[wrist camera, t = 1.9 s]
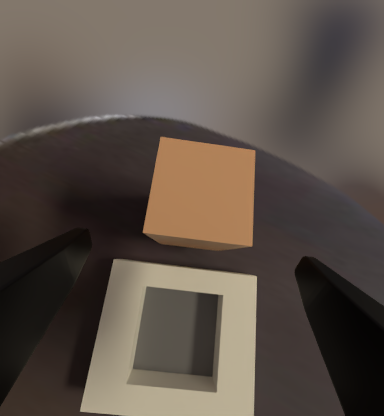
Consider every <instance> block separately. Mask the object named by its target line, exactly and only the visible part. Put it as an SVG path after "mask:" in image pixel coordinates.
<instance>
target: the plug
mask: <svg viewBox="0 0 384 416" xmlns="http://www.w3.org/2000/svg"><path fill="white" fill-rule="evenodd" d="M254 173H255V150H248V149H242V148H235V147H228V146H221V145H214V144H207V143H200V142H193V141H186V140H179V139H172V138H165V137H161V138H160V144H159V149H158V154H157V160H156V165H155V170H154V175H153V181H152V186H151V191H150V197H149V202H148V207H147V213H146V218H145V223H144V229H143V233H144V234H146V235H147V236H149V237H150V238H152V239H153V240H155V241H157V242H158V243H160V244H166V245H174V246H182V247H190V248H198V249H206V250H214V251H221V250H229V249H236V248H244V247H252V240H253V206H254Z"/></svg>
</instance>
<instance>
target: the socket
mask: <svg viewBox="0 0 384 416" xmlns="http://www.w3.org/2000/svg"><path fill="white" fill-rule="evenodd" d="M256 290H257V276H254V275H250V274H244V273H235V272H227V271H219V270H210V269H202V268H193V267H185V266H177V265H168V264H160V263H152V262H143V261H135V260H127V259H114V260H113V265H112V269H111V274H110V278H109V283H108V287H107V292H106V296H105V301H104V305H103V310H102V314H101V319H100V323H99V328H98V332H97V337H96V341H95V346H94V350H93V355H92V360H91V364H90V369H89V373H88V378H87V382H86V387H85V391H84V396H83V400H82V405H81V409H80V411H81V412H92V413H103V414H114V415H125V416H254V379H255V335H256Z"/></svg>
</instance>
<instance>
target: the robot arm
mask: <svg viewBox="0 0 384 416" xmlns="http://www.w3.org/2000/svg"><path fill="white" fill-rule="evenodd" d="M91 248H92V242H91V237H90V232H89V230H88V229H85V228H75V229H73V230H71V231H69V232H66V233H64V234H62V235H60V236H58V237H55V238H53V239H51V240H49V241H47V242H45V243H42V244H40V245H38V246H36V247H34V248H31V249H29V250H27V251H25V252H23V253H20V254H18V255H16V256H14V257H12V258H9V259H7V260H5V261H3V262H1V263H0V406H1V404H2V403H3V401H4V399H5V398H6V396H7V395H8V393H9V391H10V390H11V388H12V386H13V385H14V383H15V381H16V380H17V378H18V376H19V375H20V373H21V372H22V370H23V368H24V367H25V365H26V363H27V362H28V360H29V358H30V357H31V355H32V353H33V352H34V350H35V348H36V347H37V345H38V344H39V342H40V340H41V339H42V337H43V335H44V334H45V332H46V330H47V329H48V327H49V325H50V324H51V322H52V320H53V319H54V317H55V316H56V314H57V312H58V311H59V309H60V307H61V306H62V304H63V302H64V301H65V299H66V297H67V296H68V294H69V293H70V291H71V289H72V287H73V286H74V284H75V282H76V280H77V278H78V276H79V274H80V272H81V270H82V268H83V265H84V263H85V261H86V259H87V257H88V255H89V253H90V251H91ZM295 277H296V281H297V284H298V288H299V292H300V295H301V299H302V302H303V306H304V309H305V312H306V315H307V318H308V320H309V323H310V325H311V328H312V331H313V333H314V336H315V338H316V341H317V344H318V346H319V349H320V351H321V354H322V357H323V359H324V362H325V364H326V367H327V370H328V372H329V375H330V377H331V380H332V383H333V385H334V388H335V390H336V393H337V396H338V398H339V401H340V403H341V406H342V409H343V411H344V414H345V416H384V306H383V305H381V304H380V303H378V302H377V301H376V300H374V299H373V298H371V297H370V296H369V295H367V294H366V293H364V292H363V291H361V290H360V289H359V288H357V287H356V286H354V285H353V284H352V283H350V282H349V281H347V280H346V279H344V278H343V277H342V276H340V275H339V274H337V273H336V272H335V271H333V270H332V269H330V268H329V267H327V266H326V265H325V264H323V263H322V262H320V261H319V260H318V259H316V258H314V257H308V256H304V257H302V259H301V260H300V262H299V264H298V265H297V267H296V268H295Z"/></svg>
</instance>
